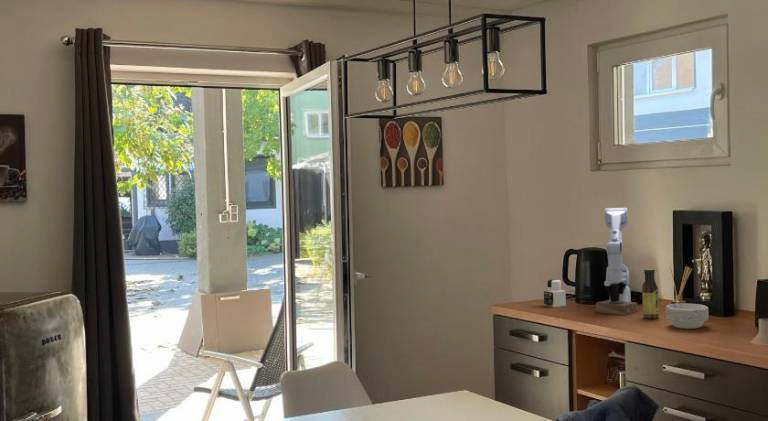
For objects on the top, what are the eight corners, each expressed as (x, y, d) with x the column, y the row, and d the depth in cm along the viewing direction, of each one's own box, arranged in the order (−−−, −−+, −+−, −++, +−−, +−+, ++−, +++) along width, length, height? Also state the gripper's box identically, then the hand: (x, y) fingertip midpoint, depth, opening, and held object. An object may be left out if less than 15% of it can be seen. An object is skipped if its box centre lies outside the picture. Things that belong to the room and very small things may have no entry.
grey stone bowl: (706, 331, 308) (706, 309, 308) (663, 329, 315) (663, 308, 314) (710, 324, 321) (710, 303, 321) (669, 322, 328) (669, 302, 328)
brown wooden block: (608, 309, 366) (608, 300, 366) (637, 311, 356) (637, 302, 356) (595, 312, 359) (595, 302, 359) (624, 315, 349) (624, 305, 349)
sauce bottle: (659, 319, 336) (658, 270, 336) (643, 319, 338) (642, 270, 337) (658, 316, 343) (656, 268, 342) (642, 316, 344) (640, 268, 343)
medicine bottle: (543, 305, 383) (543, 279, 382) (556, 304, 386) (555, 278, 385) (553, 307, 376) (552, 281, 376) (566, 306, 379) (565, 279, 379)
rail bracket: (612, 311, 360) (611, 292, 360) (622, 312, 357) (622, 293, 356) (609, 311, 359) (609, 293, 359) (620, 312, 355) (619, 294, 355)
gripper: (616, 267, 365) (617, 298, 365) (597, 270, 355) (598, 302, 355) (630, 268, 360) (631, 299, 360) (612, 271, 350) (613, 303, 350)
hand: (616, 300), depth 357 cm, fingers open, 4 cm apart
